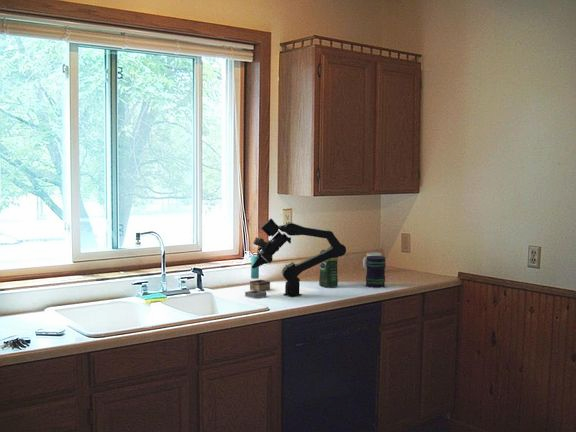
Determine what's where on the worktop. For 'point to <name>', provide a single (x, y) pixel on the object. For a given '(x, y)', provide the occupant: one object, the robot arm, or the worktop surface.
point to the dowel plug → (256, 270)
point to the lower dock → (255, 294)
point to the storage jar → (375, 271)
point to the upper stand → (260, 285)
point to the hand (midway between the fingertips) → (252, 267)
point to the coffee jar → (328, 273)
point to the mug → (370, 255)
